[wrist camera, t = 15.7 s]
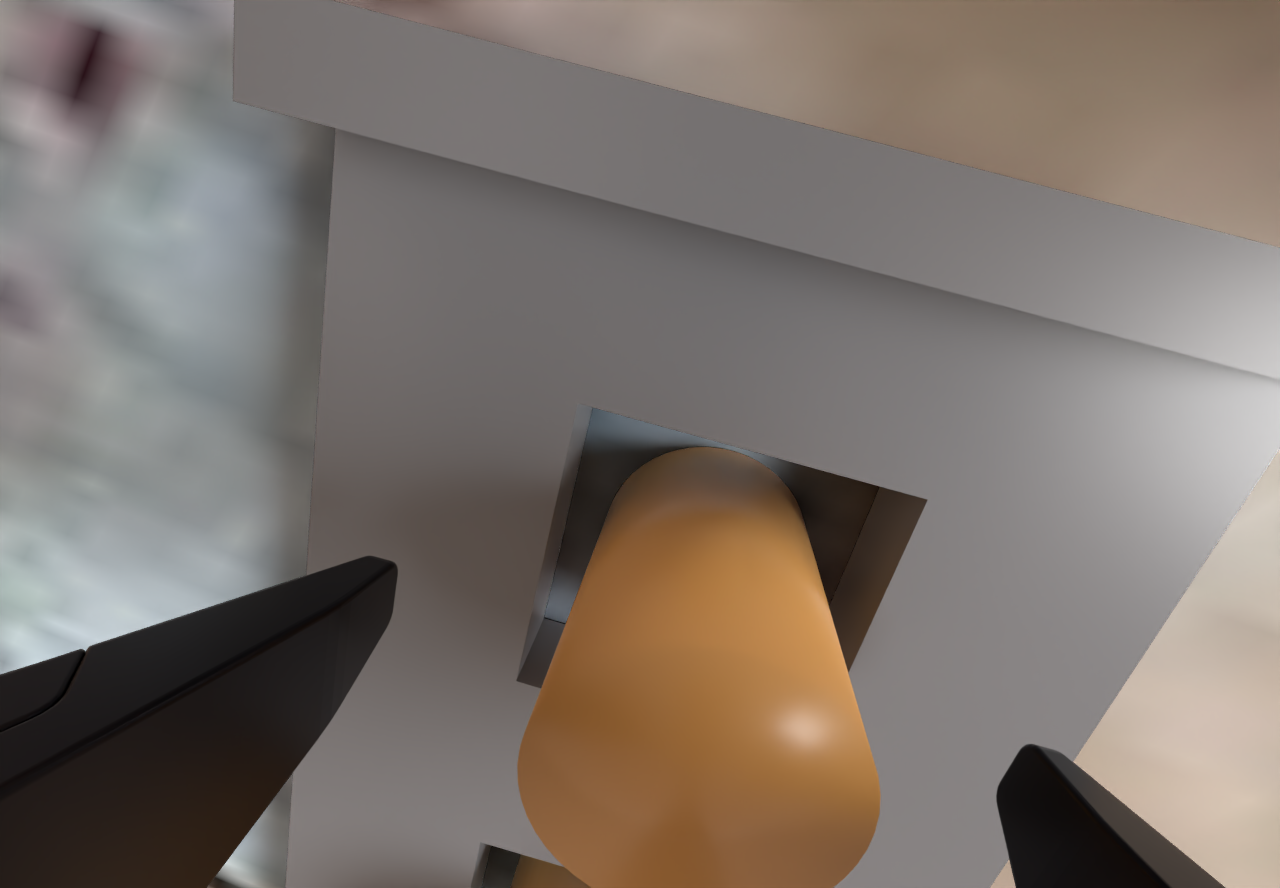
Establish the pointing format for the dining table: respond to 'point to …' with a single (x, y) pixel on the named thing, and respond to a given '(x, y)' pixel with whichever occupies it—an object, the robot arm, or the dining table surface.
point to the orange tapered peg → (543, 875)
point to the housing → (737, 417)
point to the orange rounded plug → (700, 696)
